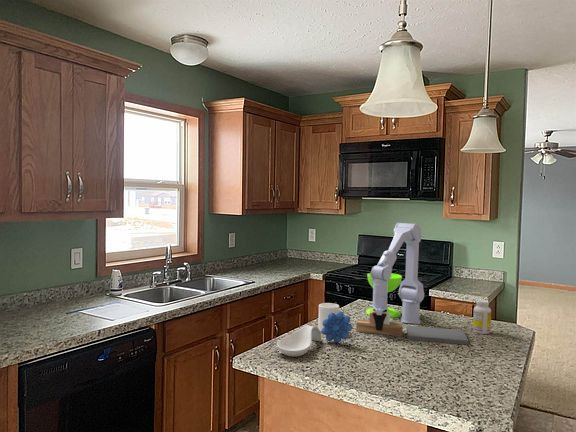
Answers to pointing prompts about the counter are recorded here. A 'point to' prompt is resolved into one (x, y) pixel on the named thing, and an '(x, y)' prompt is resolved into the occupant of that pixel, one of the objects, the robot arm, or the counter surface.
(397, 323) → the pallet
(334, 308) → the mug
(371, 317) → the terracotta crate
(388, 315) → the block
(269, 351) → the counter surface
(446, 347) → the counter surface
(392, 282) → the wineglass
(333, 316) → the blue lobed knob
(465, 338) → the dock
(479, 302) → the supplement bottle
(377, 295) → the robot arm
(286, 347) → the spoon rest
